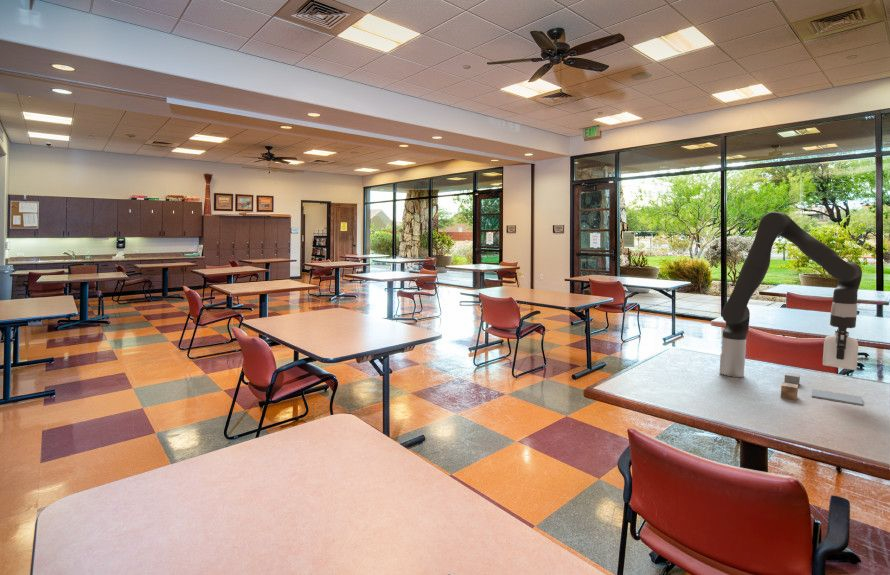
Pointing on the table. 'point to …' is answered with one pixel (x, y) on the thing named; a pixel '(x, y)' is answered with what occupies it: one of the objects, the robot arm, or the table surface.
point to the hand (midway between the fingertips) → (839, 357)
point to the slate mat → (837, 397)
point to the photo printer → (849, 353)
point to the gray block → (792, 378)
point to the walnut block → (789, 391)
